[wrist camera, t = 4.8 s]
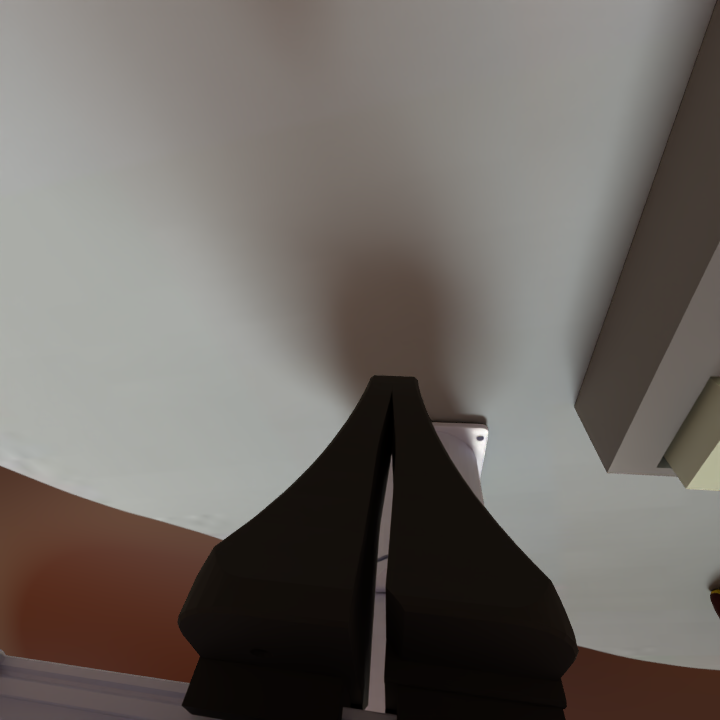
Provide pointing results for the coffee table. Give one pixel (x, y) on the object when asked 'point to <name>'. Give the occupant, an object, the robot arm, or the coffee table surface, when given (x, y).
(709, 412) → the sage key
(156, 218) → the coffee table surface
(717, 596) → the decorative lantern
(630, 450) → the key panel
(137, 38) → the coffee table surface
